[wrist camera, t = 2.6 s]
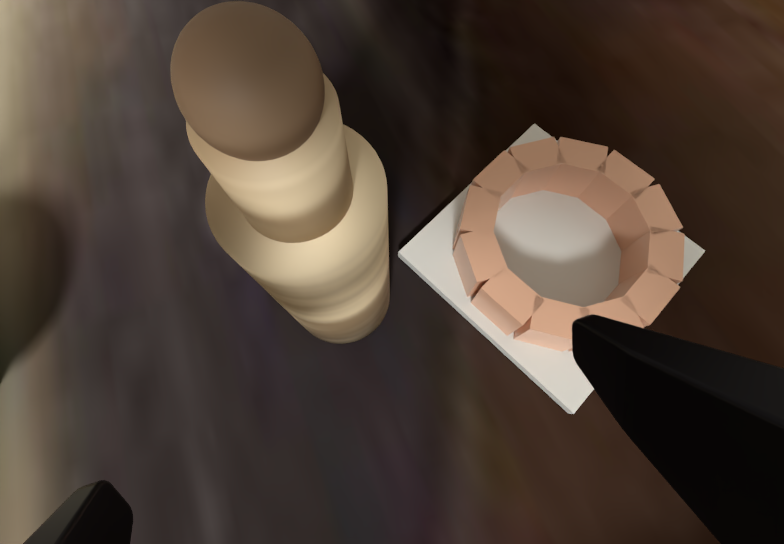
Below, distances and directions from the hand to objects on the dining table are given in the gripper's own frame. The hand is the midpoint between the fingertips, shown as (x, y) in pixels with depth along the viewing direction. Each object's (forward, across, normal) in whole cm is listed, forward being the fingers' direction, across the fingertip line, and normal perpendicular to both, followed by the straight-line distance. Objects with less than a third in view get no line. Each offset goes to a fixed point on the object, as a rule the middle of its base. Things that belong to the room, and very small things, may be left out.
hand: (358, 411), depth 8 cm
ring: (+12, -11, +5) cm, 17 cm away
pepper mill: (+13, 0, +4) cm, 13 cm away
